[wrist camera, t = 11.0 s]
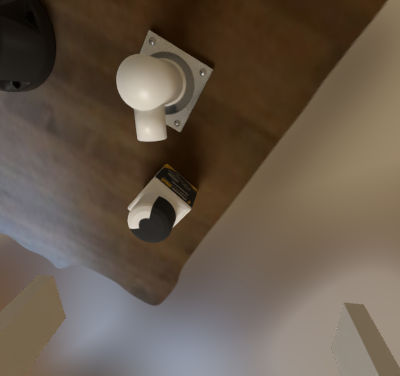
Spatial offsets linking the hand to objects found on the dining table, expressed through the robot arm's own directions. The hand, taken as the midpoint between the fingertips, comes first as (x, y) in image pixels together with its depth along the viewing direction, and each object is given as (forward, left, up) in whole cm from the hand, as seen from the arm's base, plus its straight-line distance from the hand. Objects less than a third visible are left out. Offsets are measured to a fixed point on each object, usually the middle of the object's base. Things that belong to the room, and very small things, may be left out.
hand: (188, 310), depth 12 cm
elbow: (-11, +3, -30) cm, 32 cm away
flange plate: (-12, +4, -31) cm, 33 cm away
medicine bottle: (-4, -11, -31) cm, 33 cm away
